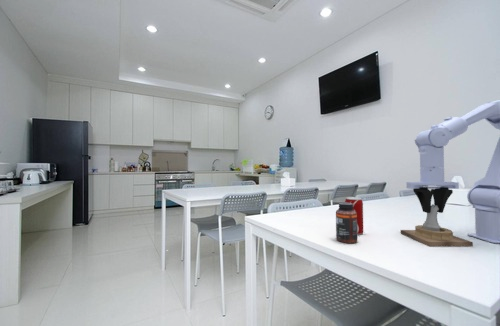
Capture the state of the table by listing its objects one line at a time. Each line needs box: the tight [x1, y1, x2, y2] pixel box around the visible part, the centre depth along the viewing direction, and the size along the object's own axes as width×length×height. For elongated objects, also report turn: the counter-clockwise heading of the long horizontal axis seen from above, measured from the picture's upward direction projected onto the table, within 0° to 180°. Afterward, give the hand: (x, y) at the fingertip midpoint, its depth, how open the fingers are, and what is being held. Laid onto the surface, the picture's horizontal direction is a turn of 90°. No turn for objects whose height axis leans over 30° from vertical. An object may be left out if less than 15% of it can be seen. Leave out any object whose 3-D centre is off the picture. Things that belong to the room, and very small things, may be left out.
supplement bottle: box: [335, 201, 359, 244], centre depth 67 cm, size 6×6×11 cm
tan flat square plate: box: [400, 224, 473, 247], centre depth 68 cm, size 12×12×3 cm
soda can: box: [344, 196, 364, 236], centre depth 75 cm, size 6×6×12 cm
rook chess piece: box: [422, 203, 441, 232], centre depth 68 cm, size 4×4×8 cm
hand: (432, 212), depth 68 cm, fingers closed on rook chess piece, 3 cm apart
